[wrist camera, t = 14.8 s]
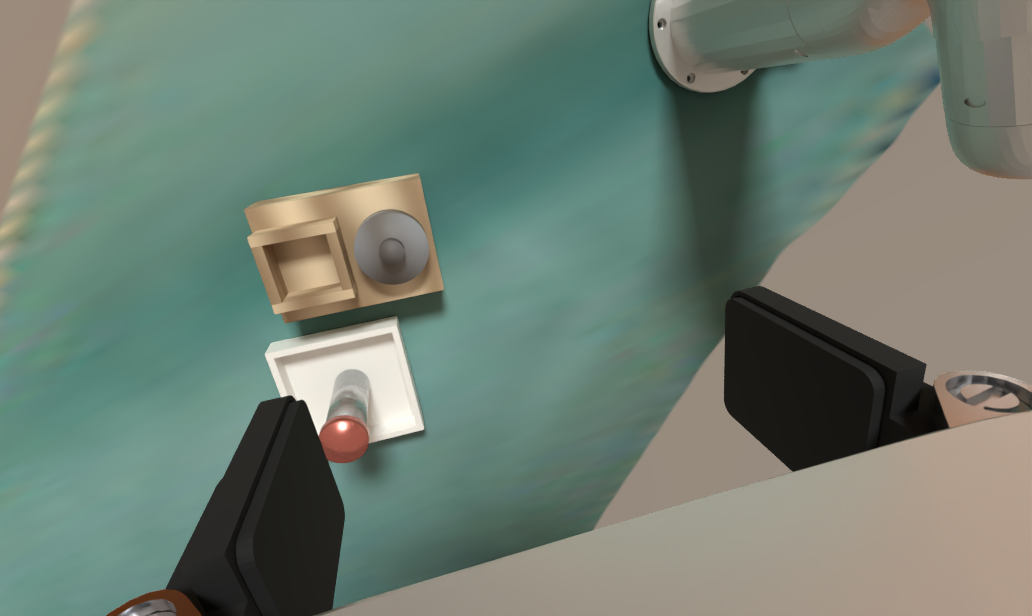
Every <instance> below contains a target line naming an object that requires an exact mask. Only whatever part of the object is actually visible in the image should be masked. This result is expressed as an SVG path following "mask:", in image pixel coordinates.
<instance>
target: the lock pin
mask: <svg viewBox="0 0 1032 616" xmlns="http://www.w3.org/2000/svg"><path fill="white" fill-rule="evenodd" d="M369 388H370V381H369V378H368V377H367V375H366V374H365V373H364V372H362V371H360V370H356V369H348V370H345V371H343V372H341V373H340V374H339V375H338V376H337V377H336V379H335V382H334V387H333V391H332V396H331V400H330V405H329V410H328V414H327V419H326V423H325V424H324V425H323V426H322V428H321V430H320V433H319V439H320V441H321V444H322V447H323V450H324V452H325V455H326V458H327V459H328V460H330V461H332V462H336V463H348V462H352V461H354V460H357V459H358V458H360V457H361V456H362V455H363V454H364V453H365V452H366V450H367V448H368V444H369V430H368V427H367V426H366V424H367V412H368V400H369Z"/></svg>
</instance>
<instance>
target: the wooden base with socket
mask: <svg viewBox="0 0 1032 616" xmlns="http://www.w3.org/2000/svg"><path fill="white" fill-rule="evenodd" d="M244 211H245V214H246V217H247V219H248V222H249V225H250V228H251V231H252V233H253V234H251V235H250V236H249V237H247V239H248V242H249V244H250V247H251V250H252V253H253V255H254V258H255V261H256V264H257V266H258V269H259V272H260V275H261V277H262V280H263V283H264V286H265V288H266V291H267V294H268V297H269V299H270V302H271V305H272V308H273V310H274V313H275V314H279V313H281V314H282V317H283V320H284V323H289V322H294V321H299V320H304V319H308V318H313V317H318V316H322V315H327V314H332V313H337V312H341V311H346V310H351V309H356V308H360V307H365V306H370V305H375V304H379V303H384V302H389V301H393V300H398V299H403V298H408V297H412V296H417V295H422V294H427V293H431V292H436V291H441V290H444V287H443V282H442V277H441V273H440V268H439V263H438V259H437V254H436V250H435V245H434V240H433V236H432V231H431V226H430V222H429V217H428V213H427V208H426V203H425V199H424V194H423V189H422V185H421V180H420V176H419V173H417V174H411V175H406V176H400V177H394V178H388V179H383V180H377V181H371V182H366V183H360V184H354V185H349V186H343V187H337V188H332V189H326V190H320V191H315V192H309V193H303V194H298V195H292V196H286V197H281V198H275V199H269V200H263V201H258V202H256V203H254V204H252V205H251V206H249V207H247V208H246V209H244Z"/></svg>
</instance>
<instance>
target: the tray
mask: <svg viewBox="0 0 1032 616" xmlns="http://www.w3.org/2000/svg"><path fill="white" fill-rule="evenodd" d="M265 356H266V359H267V361H268V364H269V367H270V369H271V372H272V374H273V377H274V380H275V382H276V385H277V387H278V390H279V393H280V395H281V397H285V396H289V395H292V396H293V397H294V398H295V400H296V401H299V400H304V401H305V402H306V404H307V406H308V409H309V412H310V414H311V417H312V420H313V422H314V425H315V428H316V431H317V433H318V436H319V433H320V430H321V428H322V426H323V425H324V424H325V423H326V419H327V414H328V410H329V405H330V400H331V396H332V391H333V387H334V382H335V379H336V377H337V376H338V375H339V374H340V373H341V372H343V371H345V370H348V369H356V370H360V371H362V372H364V373H365V374H366V375H367V377H368V378H369V381H370V388H369V400H368V412H367V424H366V426H367V427H368V430H369V443H372V442H376V441H380V440H384V439H388V438H392V437H396V436H400V435H404V434H408V433H412V432H416V431H420V430H424V420H423V414H422V410H421V406H420V402H419V398H418V394H417V391H416V387H415V383H414V379H413V375H412V371H411V367H410V364H409V360H408V356H407V352H406V348H405V344H404V341H403V337H402V333H401V329H400V325H399V321H398V318H397V316H393V317H388V318H384V319H379V320H374V321H370V322H365V323H361V324H356V325H351V326H347V327H342V328H337V329H333V330H328V331H324V332H319V333H314V334H310V335H305V336H300V337H296V338H291V339H286V340H282V341H277V342H273V343H271V344H270V346H269V347H268V349H267V351H266V353H265Z"/></svg>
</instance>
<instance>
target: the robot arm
mask: <svg viewBox="0 0 1032 616" xmlns="http://www.w3.org/2000/svg"><path fill="white" fill-rule="evenodd" d="M930 16H931V20H932V27H933V35H934V38H935V39H936V48H937V56H938V65H939V73H940V81H941V90H942V98H943V106H944V112H945V119H946V126H947V131H948V136H949V140H950V144H951V146H952V149H953V151H954V153H955V155H956V157H957V158H958V159H959V160H960V161H961V162H962V163H963V164H964V165H965V166H967V167H968V168H969V169H971V170H973V171H976V172H978V173H980V174H984V175H988V176H992V177H998V178H1006V179H1032V0H651V7H650V13H649V33H650V39H651V45H652V48H653V51H654V54H655V57H656V59H657V61H658V63H659V65H660V66H661V68H662V70H663V71H664V72H665V73H666V75H667V76H668V77H669V78H670V79H671V80H672V81H674V82H675V83H676V84H678V85H679V86H680V87H683V88H685V89H687V90H690V91H694V92H700V93H708V92H717V91H723V90H726V89H728V88H731V87H733V86H735V85H737V84H738V83H740V82H742V81H743V80H745V79H746V78H747V77H748V76H749V75H750V74H751V73H752V72H754V71H755V69H758V68H765V67H773V66H780V65H788V64H795V63H803V62H810V61H818V60H825V59H833V58H840V57H846V56H853V55H860V54H864V53H869V52H872V51H875V50H878V49H880V48H883V47H885V46H888V45H890V44H892V43H893V42H895V41H897V40H898V39H900V38H902V37H903V36H905V35H907V34H908V33H910V32H911V31H912V30H914V29H915V28H916V27H918V26H919V25H920V24H921V23H922V22H924V21H925V20H926V19H927V18H928V17H930ZM657 23H659V25H660V26H659V28H658V26H657ZM687 77H688V81H687ZM925 369H926V364H925V363H923V362H921V361H919V360H917V359H915V358H912V357H910V356H908V355H906V354H904V353H902V352H900V351H898V350H895V349H893V348H891V347H889V346H887V345H885V344H883V343H881V342H879V341H877V340H874V339H872V338H870V337H868V336H866V335H864V334H862V333H860V332H857V331H855V330H853V329H851V328H849V327H847V326H845V325H843V324H841V323H838V322H836V321H834V320H832V319H830V318H828V317H826V316H824V315H822V314H819V313H817V312H815V311H813V310H811V309H809V308H807V307H805V306H803V305H800V304H798V303H796V302H794V301H792V300H790V299H788V298H785V297H783V296H781V295H779V294H777V293H775V292H772V291H771V290H769V289H767V288H764V287H761V286H758V287H753V288H749V289H745V290H740V291H736V292H734V293H733V295H732V297H731V299H729V300H728V301H727V303H726V308H725V369H724V374H725V375H724V403H725V406H726V409H727V411H728V412H729V414H730V415H731V416H732V417H733V418H734V419H735V420H736V421H738V422H739V423H740V424H741V425H742V426H743V427H744V428H745V429H746V430H747V431H749V432H750V433H751V434H752V435H753V436H754V437H755V438H756V439H757V440H759V441H760V442H761V443H762V444H763V445H764V446H765V447H766V448H768V450H770V451H771V452H772V453H773V454H774V455H775V456H776V457H777V458H778V459H780V460H781V461H782V462H783V463H784V464H785V465H786V466H787V467H788V468H789V469H790V470H792V471H793V472H791V473H788V474H784V475H781V476H777V477H774V478H770V479H767V480H764V481H760V482H757V483H753V484H750V485H746V486H743V487H739V488H736V489H733V490H729V491H726V492H723V493H719V494H716V495H712V496H709V497H705V498H702V499H698V500H695V501H692V502H688V503H685V504H681V505H678V506H675V507H671V508H668V509H665V510H661V511H658V512H655V513H651V514H647V515H644V516H641V517H637V518H634V519H631V520H627V521H624V522H620V523H617V524H614V525H611V526H607V527H604V528H600V529H597V530H593V531H590V532H587V533H583V534H580V535H576V536H573V537H570V538H566V539H563V540H559V541H556V542H553V543H549V544H546V545H542V546H539V547H536V548H532V549H529V550H526V551H522V552H519V553H516V554H512V555H509V556H506V557H502V558H499V559H496V560H492V561H489V562H486V563H482V564H479V565H476V566H472V567H469V568H466V569H462V570H459V571H456V572H452V573H449V574H446V575H442V576H439V577H436V578H432V579H429V580H425V581H422V582H419V583H415V584H412V585H409V586H405V587H402V588H399V589H395V590H392V591H389V592H385V593H382V594H379V595H375V596H372V597H369V598H365V599H362V600H359V601H356V602H353V603H350V604H347V605H344V606H341V607H338V608H335V609H332V607H333V599H334V592H335V585H336V578H337V571H338V563H339V556H340V549H341V542H342V535H343V527H344V519H345V512H344V506H343V502H342V499H341V496H340V493H339V490H338V488H337V485H336V482H335V479H334V477H333V474H332V471H331V469H330V466H329V463H328V460H327V458H326V455H325V452H324V450H323V447H322V444H321V441H320V439H319V436H318V433H317V431H316V428H315V425H314V422H313V420H312V417H311V414H310V412H309V409H308V406H307V404H306V402H305V401H304V400H299V401H296V400H295V398H294V397H293V396H292V395H289V396H285V397H280V398H276V399H272V400H267V401H263V402H261V403H260V404H259V405H258V407H257V409H256V411H255V414H254V416H253V418H252V420H251V422H250V424H249V426H248V428H247V430H246V432H245V434H244V436H243V438H242V440H241V442H240V444H239V446H238V448H237V450H236V452H235V454H234V456H233V458H232V460H231V462H230V464H229V467H228V469H227V471H226V473H225V475H224V477H223V479H221V480H220V482H219V483H218V485H217V486H216V488H215V490H214V492H213V494H212V496H211V498H210V500H209V502H208V504H207V506H206V508H205V510H204V512H203V514H202V516H201V518H200V520H199V522H198V524H197V526H196V528H195V530H194V533H193V535H192V537H191V539H190V541H189V543H188V545H187V547H186V549H185V551H184V553H183V555H182V557H181V559H180V561H179V563H178V565H177V567H176V569H175V571H174V573H173V575H172V577H171V579H170V581H169V583H168V585H167V587H166V589H163V590H158V591H153V592H149V593H146V594H144V595H141V596H139V597H137V598H134V599H132V600H130V601H128V602H126V603H125V604H123V605H121V606H120V607H118V608H116V609H115V610H113V611H111V612H110V613H109V614H107V615H106V616H1032V386H1031V385H1030V384H1027V383H1025V382H1022V381H1020V380H1017V379H1014V378H1011V377H1007V376H1003V375H1000V374H996V373H989V372H982V371H967V370H966V371H965V370H963V371H962V370H961V371H952V372H947V373H945V374H942V375H939V376H938V377H937V378H936V379H935V380H934V385H933V386H931V385H928V384H927V383H924V382H923V380H924V374H925Z"/></svg>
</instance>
